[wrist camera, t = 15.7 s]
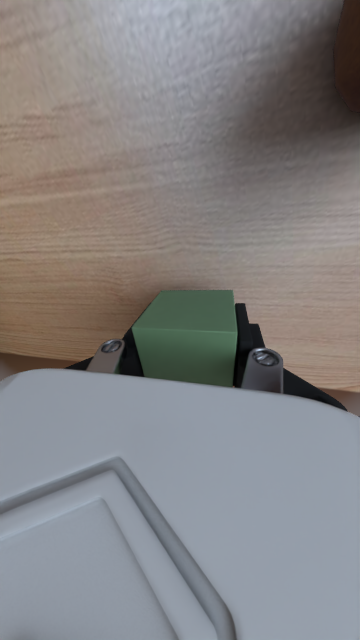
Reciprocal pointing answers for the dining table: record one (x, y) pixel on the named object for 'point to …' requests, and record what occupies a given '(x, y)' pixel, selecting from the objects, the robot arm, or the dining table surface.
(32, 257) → the dining table surface
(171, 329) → the block
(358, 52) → the wooden figurine
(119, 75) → the dining table surface
